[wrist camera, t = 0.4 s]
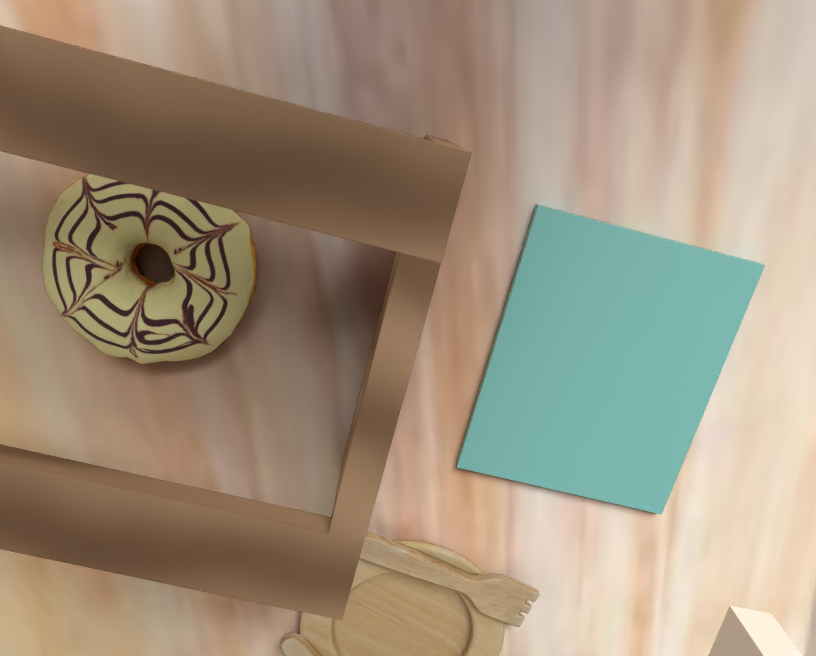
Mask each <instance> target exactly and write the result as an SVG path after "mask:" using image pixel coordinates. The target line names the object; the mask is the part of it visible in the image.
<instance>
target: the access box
mask: <svg viewBox="0 0 816 656" xmlns="http://www.w3.org/2000/svg"><path fill="white" fill-rule="evenodd" d="M0 151H2V152H6V153H10V154H14V155H18V156H22V157H26V158H30V159H34V160H38V161H42V162H46V163H49V164H53V165H57V166H61V167H65V168H69V169H73V170H77V171H81V172H85V173H89V174H93V175H97V176H101V177H105V178H109V179H113V180H116V181H120V182H124V183H128V184H132V185H136V186H140V187H144V188H148V189H152V190H156V191H160V192H164V193H168V194H172V195H176V196H179V197H183V198H187V199H191V200H195V201H199V202H203V203H207V204H211V205H215V206H219V207H223V208H227V209H231V210H235V211H239V212H243V213H246V214H250V215H254V216H258V217H262V218H266V219H270V220H274V221H278V222H282V223H286V224H290V225H294V226H298V227H302V228H306V229H310V230H313V231H317V232H321V233H325V234H329V235H333V236H337V237H341V238H345V239H349V240H353V241H357V242H361V243H365V244H369V245H373V246H377V247H380V248H384V249H388V250H392V251H396V254H395V258H394V261H393V265H392V269H391V273H390V277H389V281H388V285H387V289H386V293H385V297H384V301H383V304H382V308H381V312H380V316H379V320H378V324H377V328H376V332H375V336H374V340H373V343H372V347H371V351H370V355H369V359H368V363H367V367H366V371H365V375H364V379H363V383H362V386H361V390H360V394H359V398H358V402H357V406H356V410H355V414H354V418H353V422H352V426H351V429H350V433H349V437H348V441H347V445H346V449H345V453H344V457H343V461H342V465H341V469H340V475H339V480H338V486H337V492H336V497H335V503H334V509H333V513H332V516H331V517H327V516H322V515H317V514H313V513H308V512H304V511H299V510H295V509H290V508H286V507H281V506H277V505H272V504H268V503H263V502H258V501H254V500H249V499H245V498H240V497H236V496H231V495H227V494H222V493H218V492H213V491H209V490H204V489H200V488H195V487H190V486H186V485H181V484H177V483H172V482H168V481H163V480H159V479H154V478H150V477H145V476H141V475H136V474H132V473H127V472H122V471H118V470H113V469H109V468H104V467H100V466H95V465H91V464H86V463H82V462H77V461H73V460H68V459H63V458H59V457H54V456H50V455H45V454H41V453H36V452H32V451H27V450H23V449H18V448H14V447H9V446H5V445H0V549H3V550H7V551H12V552H17V553H22V554H27V555H31V556H36V557H41V558H46V559H50V560H55V561H60V562H65V563H70V564H74V565H79V566H84V567H89V568H94V569H98V570H103V571H108V572H113V573H118V574H122V575H127V576H132V577H137V578H142V579H146V580H151V581H156V582H161V583H166V584H170V585H175V586H180V587H185V588H189V589H194V590H199V591H204V592H209V593H213V594H218V595H223V596H228V597H233V598H237V599H242V600H247V601H252V602H257V603H261V604H266V605H271V606H276V607H281V608H285V609H290V610H295V611H300V612H305V613H309V614H314V615H319V616H324V617H328V618H333V619H338V620H342V619H343V616H344V612H345V609H346V605H347V601H348V598H349V594H350V591H351V587H352V583H353V580H354V576H355V572H356V569H357V565H358V562H359V558H360V554H361V551H362V547H363V543H364V540H365V536H366V533H367V529H368V525H369V522H370V518H371V515H372V511H373V507H374V504H375V500H376V496H377V493H378V489H379V486H380V482H381V478H382V475H383V471H384V467H385V464H386V460H387V457H388V453H389V449H390V446H391V442H392V439H393V435H394V431H395V428H396V424H397V420H398V417H399V413H400V410H401V406H402V402H403V399H404V395H405V392H406V388H407V384H408V381H409V377H410V373H411V370H412V366H413V363H414V359H415V355H416V352H417V348H418V344H419V341H420V337H421V334H422V330H423V326H424V323H425V319H426V316H427V312H428V308H429V305H430V301H431V297H432V294H433V290H434V287H435V283H436V279H437V276H438V272H439V268H440V265H441V261H442V258H443V254H444V250H445V247H446V243H447V240H448V236H449V232H450V229H451V225H452V221H453V218H454V214H455V211H456V207H457V203H458V200H459V196H460V193H461V189H462V185H463V182H464V178H465V174H466V171H467V167H468V164H469V160H470V156H471V152H469V151H467V150H465V149H463V148H461V147H459V146H457V145H455V144H453V143H451V142H449V141H447V140H443V139H439V138H435V137H432V136H428V135H426V136H425V139H422V138H418V137H414V136H411V135H407V134H403V133H399V132H396V131H392V130H388V129H384V128H381V127H377V126H373V125H369V124H366V123H362V122H358V121H355V120H351V119H347V118H343V117H340V116H336V115H332V114H328V113H325V112H321V111H317V110H314V109H310V108H306V107H302V106H299V105H295V104H291V103H287V102H284V101H280V100H276V99H272V98H269V97H265V96H261V95H258V94H254V93H250V92H246V91H243V90H239V89H235V88H231V87H228V86H224V85H220V84H217V83H213V82H209V81H205V80H202V79H198V78H194V77H190V76H187V75H183V74H179V73H175V72H172V71H168V70H164V69H161V68H157V67H153V66H149V65H146V64H142V63H138V62H134V61H131V60H127V59H123V58H120V57H116V56H112V55H108V54H105V53H101V52H97V51H93V50H90V49H86V48H82V47H78V46H75V45H71V44H67V43H64V42H60V41H56V40H52V39H49V38H45V37H41V36H37V35H34V34H30V33H26V32H23V31H19V30H15V29H11V28H8V27H4V26H0Z"/></svg>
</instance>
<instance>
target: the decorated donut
mask: <svg viewBox="0 0 816 656" xmlns="http://www.w3.org/2000/svg"><path fill="white" fill-rule="evenodd" d="M150 243H151V244H155V245H158V246H160V247H161V248H163V249H164V250H165V251H166V252H167V254H168V255H169V257H170V260H171V263H172V265H173V268H174V270H175V272H174V276H173V278H172V279H171V280H170V281H168V282H161V283H158V282H157V283H156V282H155V281H152V280H148V279H147V278H146V277H144V276H142V275H141V274H140V273H139V271H138V268H137V267H136V265H135V261H134V260H135V257H136V255H137V254H138V252H139V251H140V249H141V248H142V247H143V245H145V244H150ZM42 273H43V278H44V284H45V289H46V292H47V294H48V296H49V298H50V299H51V301H52V302H53V304H54V305H55V307H56V308H57V309H58V311H59V314H60V315H61V317H62V318H63V319H65V321H66V322H67V323H68V325H70V326H71V327H72V328H73V329H74V330H75V331H77V332H78V333H79V334H80V335H81V336H83V337H84V338H86V339H87V340H88V341H89V342H91V343H92V344H93V345H94V346H95V347H96V348H98V349H99V351H100V352H102V353H104V354H107V355H110V356H114V357H129V358H131V359H132V360H134V361H136V362H138V363H141V364H146V363H153V362H160V361H183V360H189V359H193V358H198V357H201V356H203V355H206V354H208V353H210V352H212V351H213V350H215V349H216V348H217V347H218V346H219V345H220V344H221V343H222V342H223V341H224V340H225V339H226V338H228V337H229V336H230V335H231V334H232V332H233V331H234V329H235V326H236V325H237V324H238V323H239V321H240V319H241V318H242V316H243V314H244V312H245V309H246V308H247V306H248V304H249V302H250V300H251V298H252V295H253V292H254V290H255V283H256V277H257V266H256V250H255V247H254V243H253V240H252V237H251V236H250V229H249V226H248V224H247V223H246V222H245V221H244V220H243V219H242V218H241V217H240V216H239V215H238V214H237V213H236V212H235V211H234V210H231V209H227V208H223V207H219V206H215V205H211V204H207V203H203V202H199V201H195V200H191V199H187V198H183V197H179V196H176V195H172V194H168V193H164V192H160V191H156V190H152V189H148V188H144V187H140V186H136V185H132V184H128V183H124V182H120V181H116V180H113V179H109V178H105V177H101V176H97V175H93V174H89V175H88V176H85V177H83V178H81V179H79V180H77V181H76V182H75V183H74V184H72V185H71V186H70V187H69V188H68V189H66V190H64V191H63V192H62V193H61V195H60V197H59V198H58V199H57V202H56V204H55V206H54V208H53V209H52V212H51V214H50V216H49V218H48V221H47V225H46V233H45V238H44V254H43V261H42Z"/></svg>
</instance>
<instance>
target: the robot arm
mask: <svg viewBox="0 0 816 656" xmlns="http://www.w3.org/2000/svg"><path fill="white" fill-rule="evenodd" d="M709 656H802V655H801V653H800V652H799V651H798V649H797V648H796V647H795V645H794V644H793V643H792V641H791V640H790V639H789V637H788V636H787V635H786V633H785V632H784V630H783V629H782V628H781V626H780V625H779V624H778V622H777V621H776V620H775V618H774V617H773V616H772V614H771V613H766V612H760V611H755V610H750V609H744V608H739V607H734V606H729V609H728V611H727V614H726V616H725V618H724V621H723V623H722V625H721V628H720V630H719V632H718V635H717V637H716V639H715V642H714V644H713V646H712V649H711V651H710V653H709Z"/></svg>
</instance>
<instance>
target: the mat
mask: <svg viewBox="0 0 816 656" xmlns="http://www.w3.org/2000/svg"><path fill="white" fill-rule="evenodd" d="M764 266H765V265H763V264H760V263H757V262H753V261H749V260H745V259H742V258H738V257H734V256H730V255H726V254H723V253H719V252H715V251H711V250H707V249H704V248H700V247H696V246H692V245H688V244H685V243H681V242H677V241H673V240H670V239H666V238H662V237H658V236H654V235H651V234H647V233H643V232H639V231H635V230H632V229H628V228H624V227H620V226H616V225H613V224H609V223H605V222H601V221H597V220H594V219H590V218H586V217H582V216H579V215H575V214H571V213H567V212H563V211H560V210H556V209H552V208H548V207H544V206H541V205H537V204H536V206H535V210H534V213H533V216H532V219H531V223H530V226H529V229H528V232H527V236H526V239H525V242H524V245H523V249H522V252H521V255H520V258H519V261H518V265H517V268H516V271H515V274H514V278H513V281H512V284H511V287H510V291H509V294H508V297H507V300H506V304H505V307H504V310H503V313H502V316H501V320H500V323H499V326H498V329H497V333H496V336H495V339H494V342H493V346H492V349H491V352H490V355H489V359H488V362H487V365H486V368H485V371H484V375H483V378H482V381H481V384H480V388H479V391H478V394H477V397H476V401H475V404H474V407H473V410H472V414H471V417H470V420H469V423H468V426H467V430H466V433H465V436H464V439H463V443H462V446H461V449H460V452H459V456H458V459H457V462H456V464H457V468H462V469H466V470H470V471H475V472H479V473H483V474H488V475H492V476H496V477H501V478H505V479H509V480H514V481H518V482H522V483H527V484H531V485H536V486H540V487H544V488H549V489H553V490H557V491H562V492H566V493H570V494H575V495H579V496H583V497H588V498H592V499H596V500H601V501H605V502H609V503H614V504H618V505H623V506H627V507H631V508H636V509H640V510H644V511H649V512H653V513H657V514H662V512H663V510H664V507H665V505H666V503H667V500H668V498H669V495H670V493H671V491H672V488H673V486H674V483H675V481H676V478H677V476H678V474H679V471H680V469H681V466H682V464H683V462H684V459H685V457H686V454H687V452H688V450H689V447H690V445H691V442H692V440H693V437H694V435H695V433H696V430H697V428H698V425H699V423H700V421H701V418H702V416H703V413H704V411H705V409H706V406H707V404H708V401H709V399H710V396H711V394H712V392H713V389H714V387H715V384H716V382H717V380H718V377H719V375H720V372H721V370H722V367H723V365H724V363H725V360H726V358H727V355H728V353H729V351H730V348H731V346H732V343H733V341H734V339H735V336H736V334H737V331H738V329H739V326H740V324H741V322H742V319H743V317H744V314H745V312H746V310H747V307H748V305H749V302H750V300H751V297H752V295H753V293H754V290H755V288H756V285H757V283H758V281H759V278H760V276H761V273H762V271H763V269H764Z"/></svg>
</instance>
